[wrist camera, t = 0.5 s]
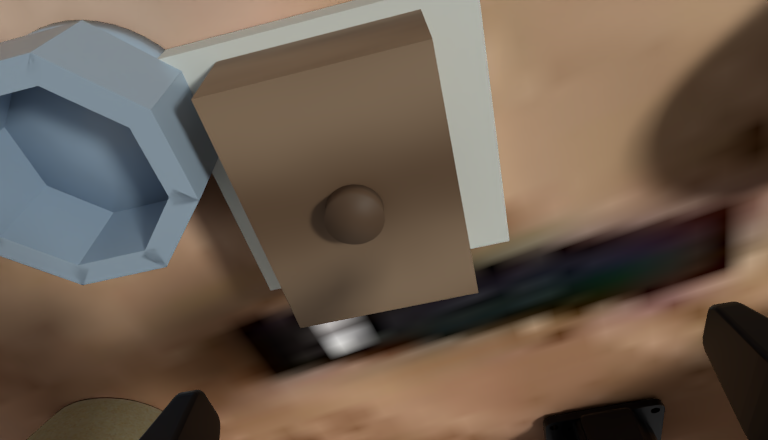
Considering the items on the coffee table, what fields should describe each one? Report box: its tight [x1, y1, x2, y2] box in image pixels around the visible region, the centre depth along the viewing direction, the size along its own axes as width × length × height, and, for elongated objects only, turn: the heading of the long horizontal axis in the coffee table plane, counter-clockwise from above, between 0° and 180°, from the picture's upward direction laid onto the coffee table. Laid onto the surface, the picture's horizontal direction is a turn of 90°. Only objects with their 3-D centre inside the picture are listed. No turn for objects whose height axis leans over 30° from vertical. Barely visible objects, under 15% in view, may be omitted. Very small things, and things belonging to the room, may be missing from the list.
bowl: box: [0, 20, 219, 285], centre depth 17 cm, size 7×7×4 cm
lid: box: [191, 9, 478, 328], centre depth 17 cm, size 9×6×4 cm
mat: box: [157, 0, 509, 290], centre depth 19 cm, size 10×10×1 cm
